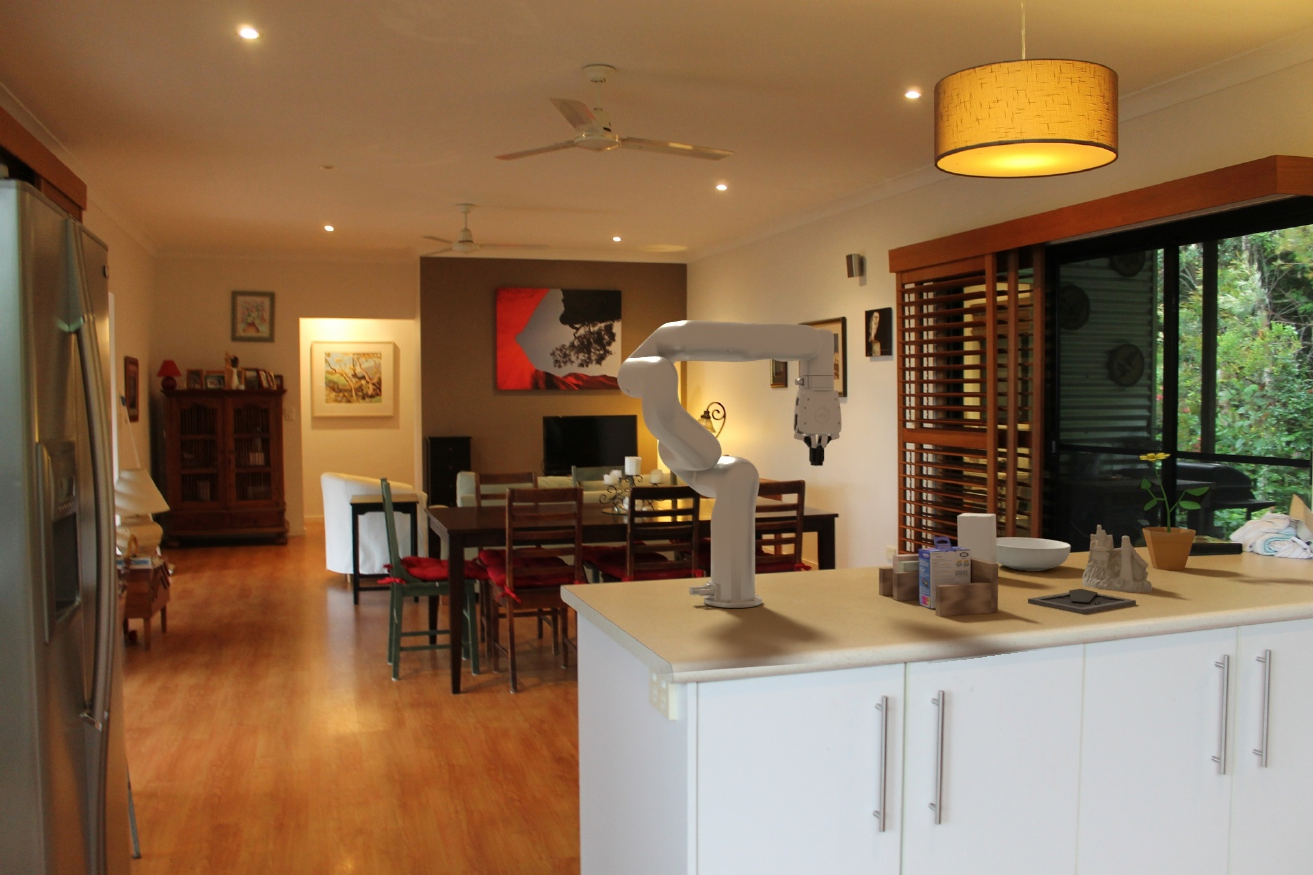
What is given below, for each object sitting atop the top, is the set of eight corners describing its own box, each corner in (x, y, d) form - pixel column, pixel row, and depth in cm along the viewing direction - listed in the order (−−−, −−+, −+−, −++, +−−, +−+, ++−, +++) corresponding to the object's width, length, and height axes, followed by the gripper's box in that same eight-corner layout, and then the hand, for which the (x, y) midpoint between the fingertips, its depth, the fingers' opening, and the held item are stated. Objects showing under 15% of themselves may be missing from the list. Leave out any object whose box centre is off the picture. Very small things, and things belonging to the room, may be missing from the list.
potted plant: (1115, 563, 265) (1116, 452, 264) (1180, 562, 267) (1181, 451, 266) (1155, 574, 248) (1157, 455, 247) (1225, 573, 250) (1227, 454, 249)
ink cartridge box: (958, 602, 214) (958, 535, 213) (972, 607, 208) (973, 538, 208) (917, 604, 211) (917, 537, 211) (930, 609, 206) (931, 540, 206)
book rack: (939, 616, 199) (940, 567, 199) (878, 594, 222) (879, 550, 222) (997, 612, 203) (998, 563, 203) (931, 590, 226) (932, 547, 226)
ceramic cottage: (1141, 594, 222) (1141, 527, 222) (1069, 587, 234) (1069, 523, 234) (1167, 589, 232) (1167, 525, 233) (1097, 583, 244) (1097, 522, 245)
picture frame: (1080, 597, 222) (1027, 605, 212) (1080, 588, 222) (1027, 596, 212) (1135, 607, 210) (1082, 617, 201) (1136, 598, 210) (1082, 607, 201)
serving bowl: (1047, 578, 243) (1047, 550, 243) (970, 568, 259) (970, 542, 258) (1084, 568, 257) (1085, 542, 257) (1009, 559, 273) (1009, 534, 272)
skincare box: (997, 576, 246) (998, 513, 246) (991, 580, 240) (991, 516, 240) (963, 573, 251) (964, 512, 250) (956, 576, 245) (956, 514, 244)
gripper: (793, 383, 217) (792, 467, 217) (854, 384, 221) (854, 465, 221) (779, 384, 224) (779, 465, 225) (839, 384, 228) (839, 464, 229)
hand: (816, 465), depth 223 cm, fingers closed
